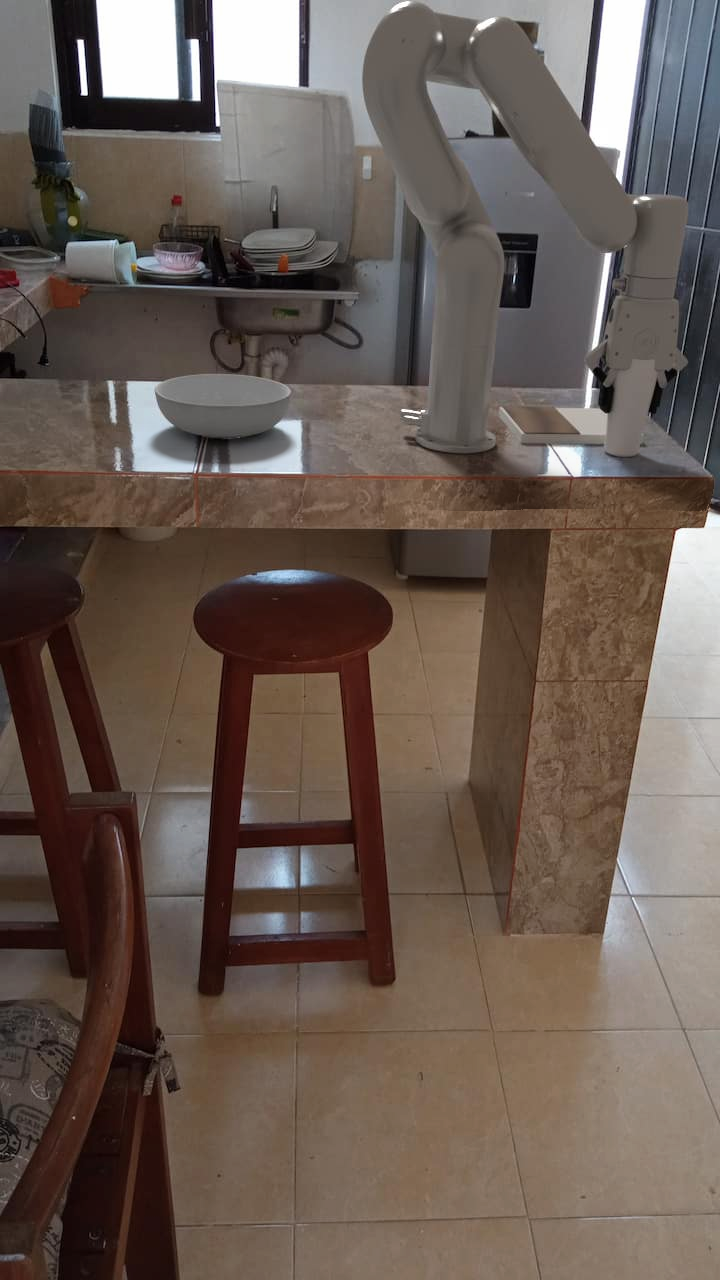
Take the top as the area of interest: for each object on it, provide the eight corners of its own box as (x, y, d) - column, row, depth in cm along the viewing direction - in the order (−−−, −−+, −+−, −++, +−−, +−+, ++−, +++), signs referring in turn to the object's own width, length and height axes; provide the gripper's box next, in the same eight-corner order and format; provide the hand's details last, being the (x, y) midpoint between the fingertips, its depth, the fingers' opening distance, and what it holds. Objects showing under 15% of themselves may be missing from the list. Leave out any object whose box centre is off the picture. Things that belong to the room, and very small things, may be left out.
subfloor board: (520, 443, 158) (521, 434, 157) (498, 415, 172) (499, 407, 171) (642, 444, 160) (644, 435, 159) (611, 417, 174) (612, 408, 173)
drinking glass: (636, 462, 151) (654, 362, 144) (592, 454, 154) (608, 355, 147) (647, 451, 157) (665, 354, 150) (605, 443, 160) (621, 348, 153)
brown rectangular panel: (523, 442, 158) (524, 432, 157) (501, 415, 172) (502, 406, 171) (578, 443, 159) (580, 433, 158) (552, 416, 173) (553, 406, 172)
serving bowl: (305, 447, 152) (306, 402, 149) (167, 455, 146) (164, 408, 143) (273, 411, 170) (273, 370, 166) (149, 417, 164) (146, 374, 160)
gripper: (597, 291, 140) (579, 417, 148) (715, 294, 142) (691, 418, 150) (581, 282, 146) (565, 404, 155) (695, 285, 148) (673, 405, 157)
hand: (627, 410), depth 152 cm, fingers closed on drinking glass, 6 cm apart
